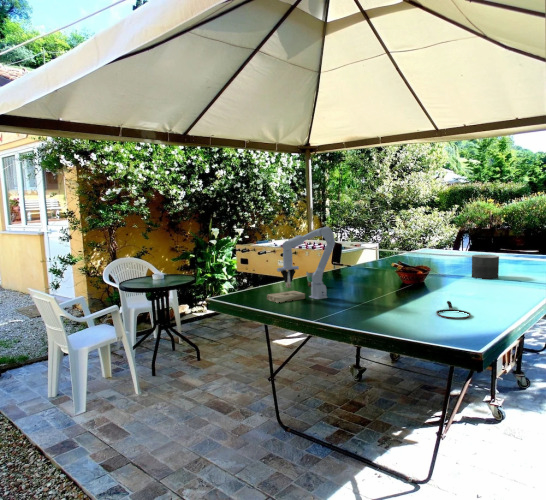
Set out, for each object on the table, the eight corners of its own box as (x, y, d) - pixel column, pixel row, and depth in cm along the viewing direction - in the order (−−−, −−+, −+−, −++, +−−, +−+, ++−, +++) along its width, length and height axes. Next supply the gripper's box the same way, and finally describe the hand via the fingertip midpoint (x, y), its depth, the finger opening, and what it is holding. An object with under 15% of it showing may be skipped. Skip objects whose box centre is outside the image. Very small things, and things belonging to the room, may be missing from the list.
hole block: (304, 298, 271) (304, 293, 271) (276, 303, 261) (276, 298, 261) (294, 295, 282) (294, 290, 281) (267, 299, 272) (266, 294, 271)
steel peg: (291, 287, 275) (291, 271, 274) (287, 287, 273) (286, 272, 272) (289, 286, 277) (289, 270, 276) (285, 287, 276) (284, 271, 275)
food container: (303, 286, 308) (303, 272, 307) (306, 285, 314) (306, 271, 313) (319, 287, 303) (319, 273, 302) (323, 286, 308) (322, 272, 307)
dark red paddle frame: (431, 306, 245) (431, 300, 244) (463, 306, 241) (463, 300, 240) (437, 319, 218) (438, 312, 217) (473, 320, 214) (474, 313, 213)
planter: (466, 276, 329) (466, 255, 328) (485, 274, 335) (486, 254, 333) (484, 280, 312) (484, 258, 311) (504, 278, 318) (504, 256, 316)
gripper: (294, 258, 280) (294, 279, 282) (274, 260, 273) (275, 282, 275) (300, 259, 274) (300, 281, 276) (280, 261, 267) (280, 283, 269)
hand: (288, 281), depth 275 cm, fingers closed on steel peg, 3 cm apart
